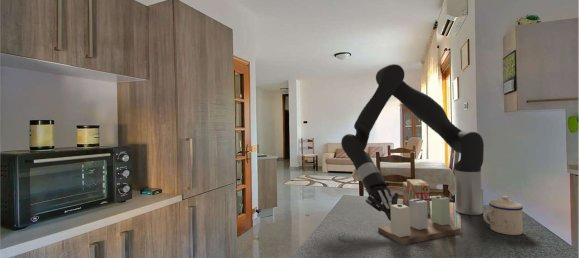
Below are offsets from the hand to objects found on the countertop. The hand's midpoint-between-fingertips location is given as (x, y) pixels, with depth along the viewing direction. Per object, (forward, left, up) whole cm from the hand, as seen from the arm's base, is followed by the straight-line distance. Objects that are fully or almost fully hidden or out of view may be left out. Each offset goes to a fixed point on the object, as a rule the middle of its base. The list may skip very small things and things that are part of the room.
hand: (394, 220), depth 92 cm
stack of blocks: (-31, -24, -6) cm, 40 cm away
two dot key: (-20, 0, -4) cm, 20 cm away
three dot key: (-10, 0, -4) cm, 11 cm away
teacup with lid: (-36, +10, -6) cm, 38 cm away
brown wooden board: (-10, 0, -5) cm, 11 cm away
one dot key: (0, +3, -4) cm, 4 cm away
